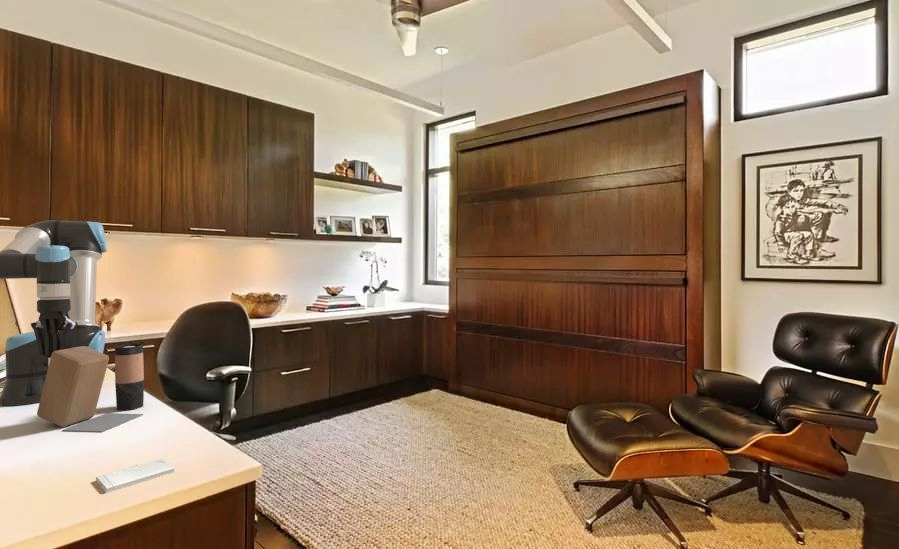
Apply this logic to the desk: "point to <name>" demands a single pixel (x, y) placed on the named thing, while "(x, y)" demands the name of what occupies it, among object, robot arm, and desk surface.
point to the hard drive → (134, 475)
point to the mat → (103, 422)
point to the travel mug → (129, 377)
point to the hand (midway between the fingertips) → (55, 379)
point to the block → (72, 385)
